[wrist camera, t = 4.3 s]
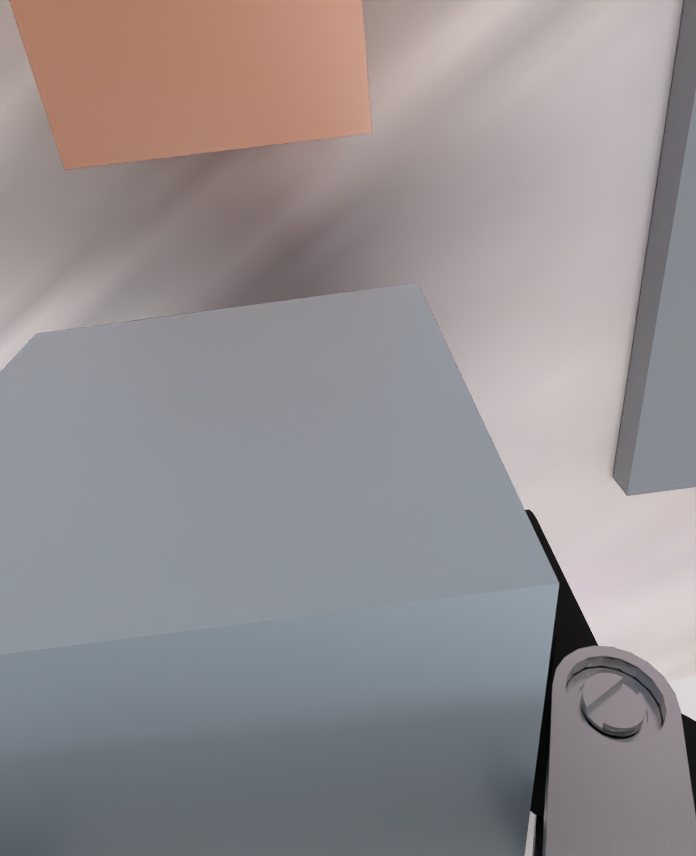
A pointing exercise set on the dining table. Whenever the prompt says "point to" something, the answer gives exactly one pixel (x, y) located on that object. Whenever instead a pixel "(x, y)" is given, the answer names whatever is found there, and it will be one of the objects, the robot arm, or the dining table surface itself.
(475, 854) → the blue brick
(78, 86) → the terracotta brick
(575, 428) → the dining table surface
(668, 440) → the baseplate
